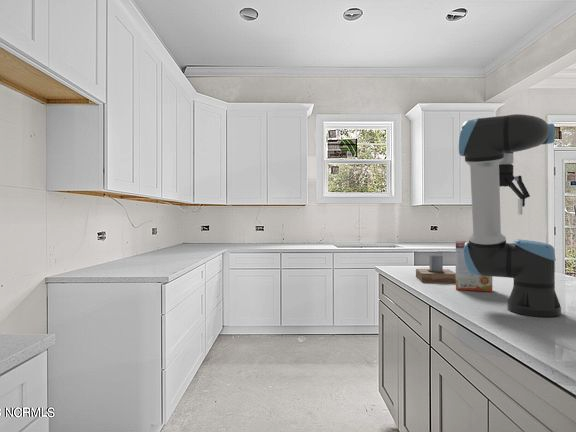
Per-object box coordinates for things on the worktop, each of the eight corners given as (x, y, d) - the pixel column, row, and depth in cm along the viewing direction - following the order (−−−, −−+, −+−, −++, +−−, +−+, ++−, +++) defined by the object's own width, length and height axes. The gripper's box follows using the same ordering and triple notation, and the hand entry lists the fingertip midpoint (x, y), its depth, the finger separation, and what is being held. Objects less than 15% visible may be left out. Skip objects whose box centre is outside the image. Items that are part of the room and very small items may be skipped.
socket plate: (457, 283, 186) (457, 274, 186) (421, 282, 188) (421, 273, 188) (448, 277, 202) (448, 269, 202) (415, 276, 204) (415, 268, 204)
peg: (442, 280, 193) (442, 255, 192) (431, 280, 193) (431, 255, 193) (440, 279, 197) (440, 254, 197) (429, 278, 198) (429, 254, 198)
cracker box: (491, 289, 170) (491, 240, 170) (492, 292, 165) (492, 241, 164) (455, 287, 176) (455, 239, 175) (455, 289, 170) (455, 240, 170)
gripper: (530, 165, 174) (530, 214, 174) (469, 166, 177) (469, 214, 177) (539, 163, 166) (538, 214, 167) (475, 164, 170) (474, 214, 170)
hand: (502, 214), depth 172 cm, fingers open, 13 cm apart
